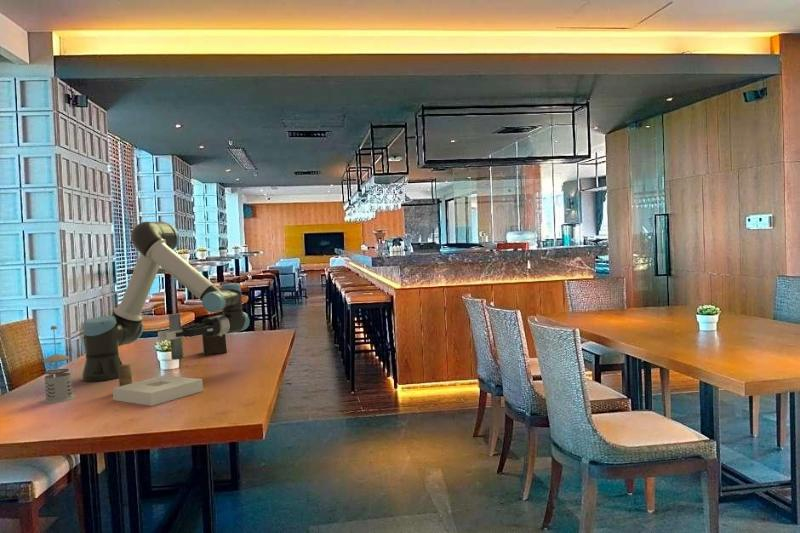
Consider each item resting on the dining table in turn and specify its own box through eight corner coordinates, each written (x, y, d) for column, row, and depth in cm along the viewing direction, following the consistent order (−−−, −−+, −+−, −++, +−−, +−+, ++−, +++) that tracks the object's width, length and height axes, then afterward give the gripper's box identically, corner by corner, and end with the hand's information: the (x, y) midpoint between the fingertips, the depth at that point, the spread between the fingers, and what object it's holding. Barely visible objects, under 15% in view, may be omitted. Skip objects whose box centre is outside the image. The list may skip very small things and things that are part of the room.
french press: (46, 404, 210) (40, 328, 209) (38, 399, 219) (32, 326, 218) (79, 398, 216) (73, 324, 215) (69, 393, 225) (64, 322, 224)
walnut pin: (117, 392, 223) (115, 366, 222) (127, 389, 226) (126, 364, 226) (124, 393, 221) (122, 367, 220) (134, 390, 224) (133, 364, 224)
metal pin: (169, 359, 231) (166, 315, 231) (178, 357, 235) (175, 313, 234) (176, 359, 229) (173, 315, 228) (185, 357, 232) (182, 313, 232)
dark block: (203, 355, 288) (200, 316, 288) (202, 352, 299) (199, 313, 298) (238, 352, 293) (236, 312, 293) (236, 348, 304) (234, 310, 303)
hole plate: (113, 400, 211) (112, 388, 211) (165, 386, 227) (164, 375, 227) (151, 405, 200) (150, 393, 200) (203, 390, 217) (202, 379, 216)
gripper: (230, 336, 242) (179, 347, 222) (200, 335, 251) (148, 345, 232) (229, 317, 242) (177, 326, 222) (199, 316, 251) (147, 324, 231)
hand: (163, 336), depth 227 cm, fingers closed on metal pin, 4 cm apart
